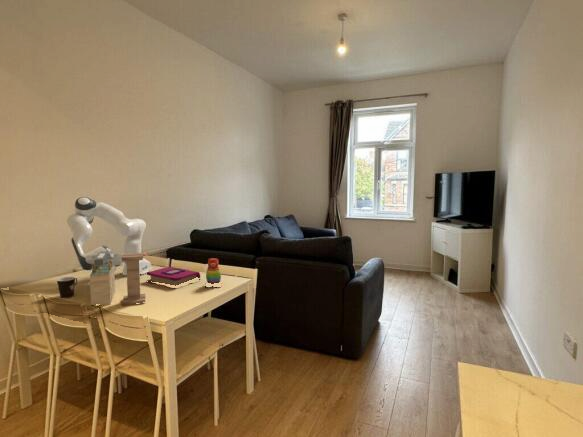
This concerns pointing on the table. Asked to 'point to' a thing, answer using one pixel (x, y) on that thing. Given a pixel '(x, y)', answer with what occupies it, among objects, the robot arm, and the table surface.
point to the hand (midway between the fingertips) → (103, 254)
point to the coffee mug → (66, 286)
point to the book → (172, 275)
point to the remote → (101, 258)
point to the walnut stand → (133, 279)
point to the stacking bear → (213, 271)
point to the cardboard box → (102, 284)
